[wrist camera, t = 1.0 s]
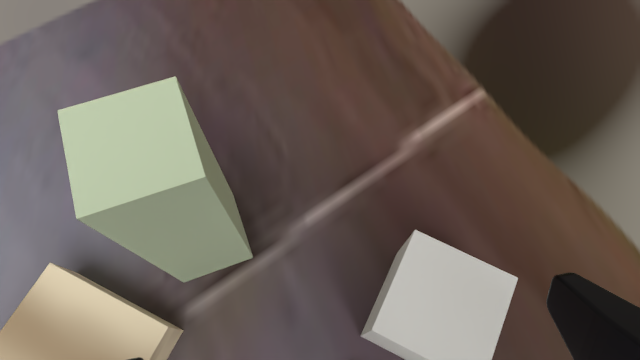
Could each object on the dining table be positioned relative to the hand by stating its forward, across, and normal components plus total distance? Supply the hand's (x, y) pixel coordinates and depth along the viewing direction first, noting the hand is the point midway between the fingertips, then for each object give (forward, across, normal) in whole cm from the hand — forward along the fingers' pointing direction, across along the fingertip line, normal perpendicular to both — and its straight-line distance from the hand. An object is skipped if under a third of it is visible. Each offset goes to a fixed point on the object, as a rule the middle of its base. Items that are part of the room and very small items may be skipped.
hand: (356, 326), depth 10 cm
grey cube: (+9, -5, +12) cm, 16 cm away
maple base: (+10, +12, +12) cm, 20 cm away
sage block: (+14, +6, +8) cm, 17 cm away
